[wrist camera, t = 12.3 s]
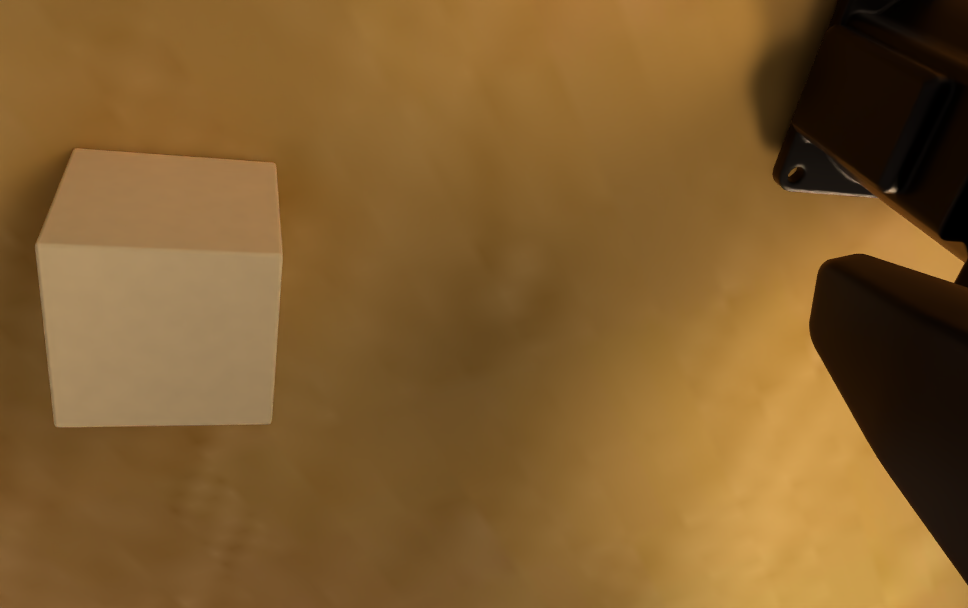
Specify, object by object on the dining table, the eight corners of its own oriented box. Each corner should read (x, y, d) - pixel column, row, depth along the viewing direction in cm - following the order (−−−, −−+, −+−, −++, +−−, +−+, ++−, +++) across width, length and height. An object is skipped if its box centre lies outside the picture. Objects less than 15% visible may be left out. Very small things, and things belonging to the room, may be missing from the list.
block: (276, 161, 21) (283, 254, 17) (267, 315, 23) (271, 425, 19) (72, 146, 19) (33, 243, 16) (85, 311, 22) (53, 428, 18)
